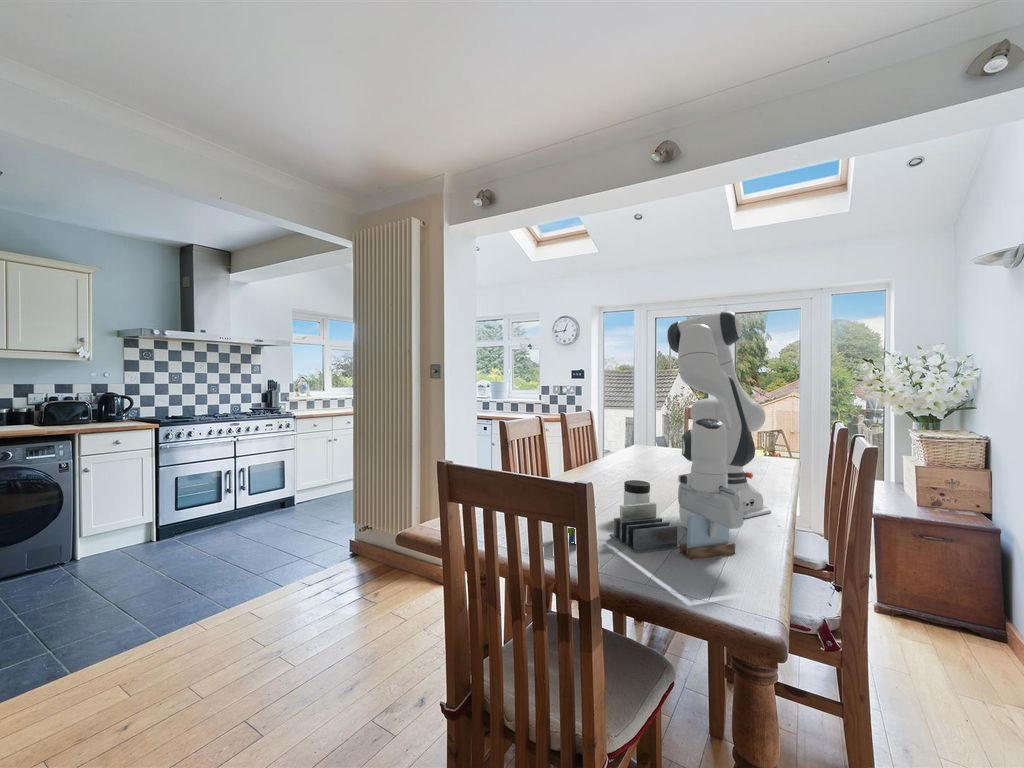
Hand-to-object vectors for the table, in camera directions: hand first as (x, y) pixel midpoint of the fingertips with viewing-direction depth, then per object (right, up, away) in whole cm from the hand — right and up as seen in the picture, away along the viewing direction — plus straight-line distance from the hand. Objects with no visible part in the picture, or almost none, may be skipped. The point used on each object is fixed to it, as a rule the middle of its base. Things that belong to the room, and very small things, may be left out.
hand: (708, 534), depth 121 cm
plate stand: (0, -6, 0) cm, 6 cm away
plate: (0, -5, 0) cm, 5 cm away
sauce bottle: (+3, -5, +19) cm, 20 cm away
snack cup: (-33, -5, +11) cm, 35 cm away
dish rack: (-14, -5, +8) cm, 17 cm away
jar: (-10, -5, +30) cm, 32 cm away
